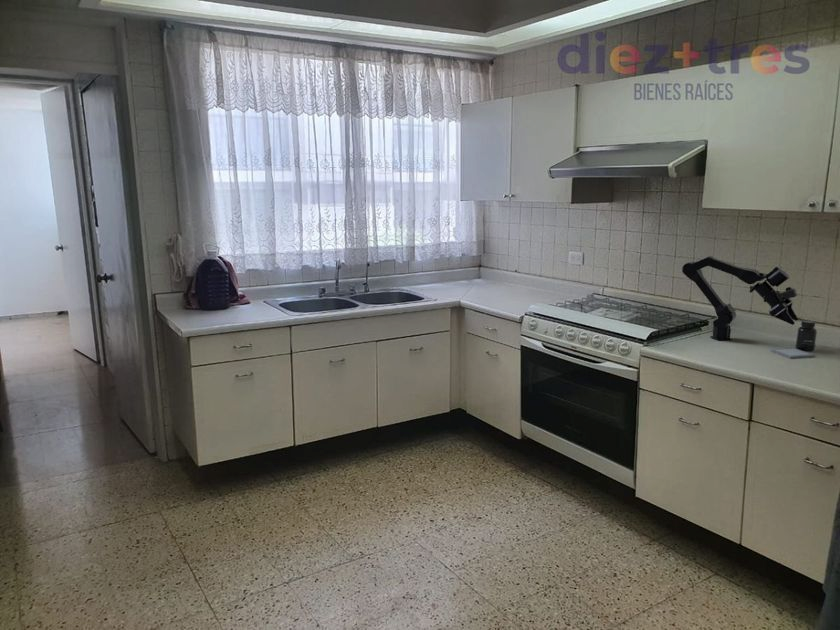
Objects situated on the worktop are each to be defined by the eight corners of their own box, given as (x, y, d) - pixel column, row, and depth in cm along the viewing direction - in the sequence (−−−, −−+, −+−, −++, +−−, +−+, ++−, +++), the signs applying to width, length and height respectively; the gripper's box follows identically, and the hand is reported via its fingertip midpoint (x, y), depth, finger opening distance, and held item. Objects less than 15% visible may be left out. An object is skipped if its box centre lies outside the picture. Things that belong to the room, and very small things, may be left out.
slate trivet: (790, 358, 247) (790, 356, 247) (770, 351, 258) (770, 349, 258) (814, 356, 249) (815, 354, 249) (794, 349, 260) (794, 347, 259)
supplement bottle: (805, 352, 256) (808, 323, 253) (791, 348, 262) (794, 320, 260) (818, 350, 258) (821, 322, 255) (804, 346, 264) (807, 319, 261)
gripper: (781, 284, 253) (809, 314, 248) (788, 278, 267) (816, 306, 263) (757, 301, 259) (785, 330, 255) (766, 295, 274) (792, 322, 269)
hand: (795, 322), depth 260 cm, fingers open, 9 cm apart
